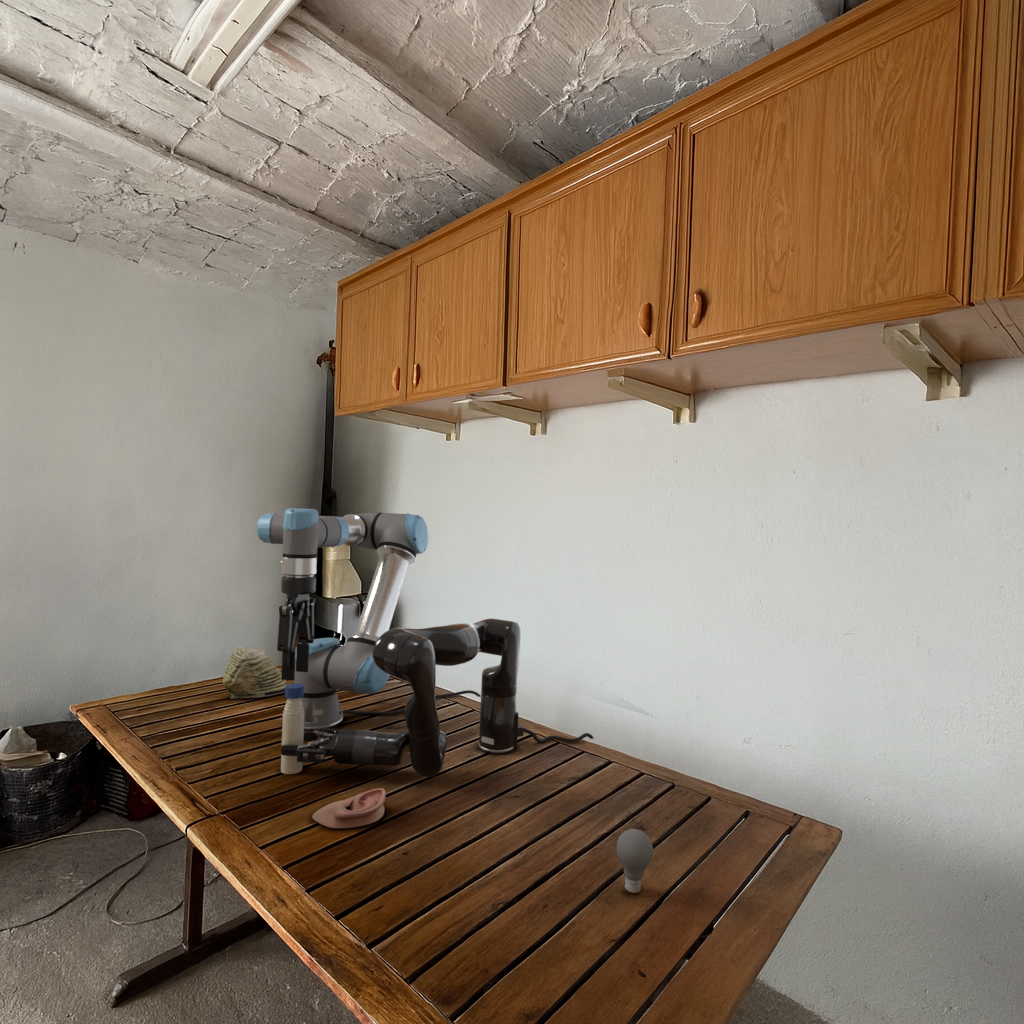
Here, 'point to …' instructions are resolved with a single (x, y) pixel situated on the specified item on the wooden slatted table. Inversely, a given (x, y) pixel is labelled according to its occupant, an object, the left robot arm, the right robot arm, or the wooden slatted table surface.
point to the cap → (294, 691)
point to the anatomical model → (353, 810)
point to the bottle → (292, 734)
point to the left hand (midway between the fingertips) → (295, 675)
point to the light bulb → (634, 857)
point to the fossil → (252, 674)
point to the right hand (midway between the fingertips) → (289, 742)
